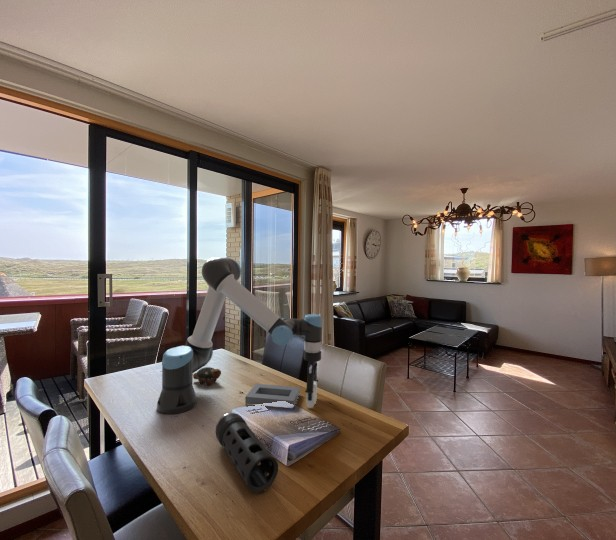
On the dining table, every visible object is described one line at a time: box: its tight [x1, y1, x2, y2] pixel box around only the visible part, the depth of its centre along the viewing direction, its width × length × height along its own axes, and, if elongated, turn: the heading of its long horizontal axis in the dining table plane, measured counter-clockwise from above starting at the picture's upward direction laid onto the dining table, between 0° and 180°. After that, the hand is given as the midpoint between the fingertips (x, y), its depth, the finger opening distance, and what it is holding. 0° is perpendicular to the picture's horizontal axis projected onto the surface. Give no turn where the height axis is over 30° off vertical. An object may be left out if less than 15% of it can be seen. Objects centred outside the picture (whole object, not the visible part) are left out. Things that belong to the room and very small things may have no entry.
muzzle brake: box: [215, 412, 279, 494], centre depth 89 cm, size 10×28×10 cm, turn 34°
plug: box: [305, 381, 318, 404], centre depth 129 cm, size 4×4×9 cm
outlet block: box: [244, 383, 301, 406], centre depth 132 cm, size 21×14×4 cm, turn 82°
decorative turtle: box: [193, 366, 222, 387], centre depth 148 cm, size 10×15×8 cm, turn 80°
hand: (311, 401), depth 129 cm, fingers open, 9 cm apart
